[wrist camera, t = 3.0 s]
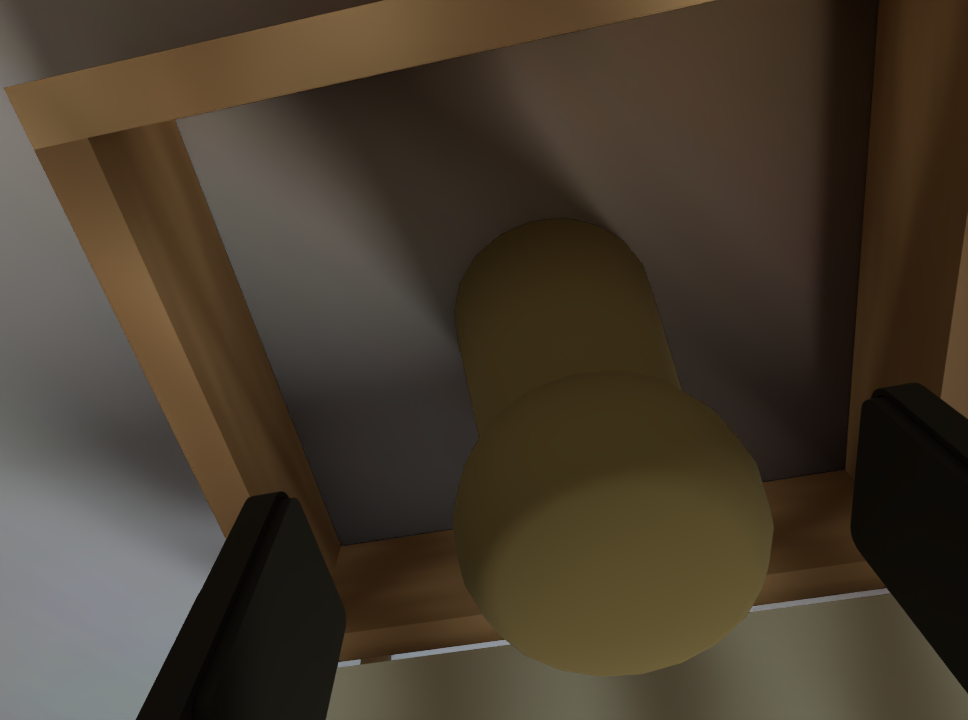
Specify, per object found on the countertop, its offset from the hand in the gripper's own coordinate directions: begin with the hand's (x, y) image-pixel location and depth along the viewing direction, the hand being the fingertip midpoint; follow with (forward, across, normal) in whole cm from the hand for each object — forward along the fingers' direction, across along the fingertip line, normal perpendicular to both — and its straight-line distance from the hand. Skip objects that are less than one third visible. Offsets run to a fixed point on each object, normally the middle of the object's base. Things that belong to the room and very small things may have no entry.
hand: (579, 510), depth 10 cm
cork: (+10, -1, 0) cm, 10 cm away
